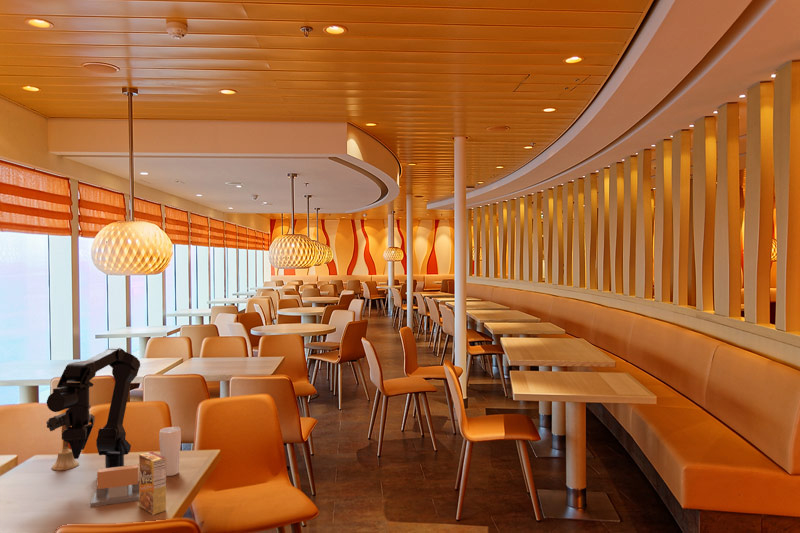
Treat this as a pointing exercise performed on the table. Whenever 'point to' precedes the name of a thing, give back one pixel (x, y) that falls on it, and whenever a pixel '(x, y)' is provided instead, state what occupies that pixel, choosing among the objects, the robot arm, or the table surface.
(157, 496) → the candy box
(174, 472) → the drinking glass
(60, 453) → the hand bell
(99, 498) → the display stand
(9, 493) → the table surface
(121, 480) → the orange bracket
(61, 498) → the table surface
